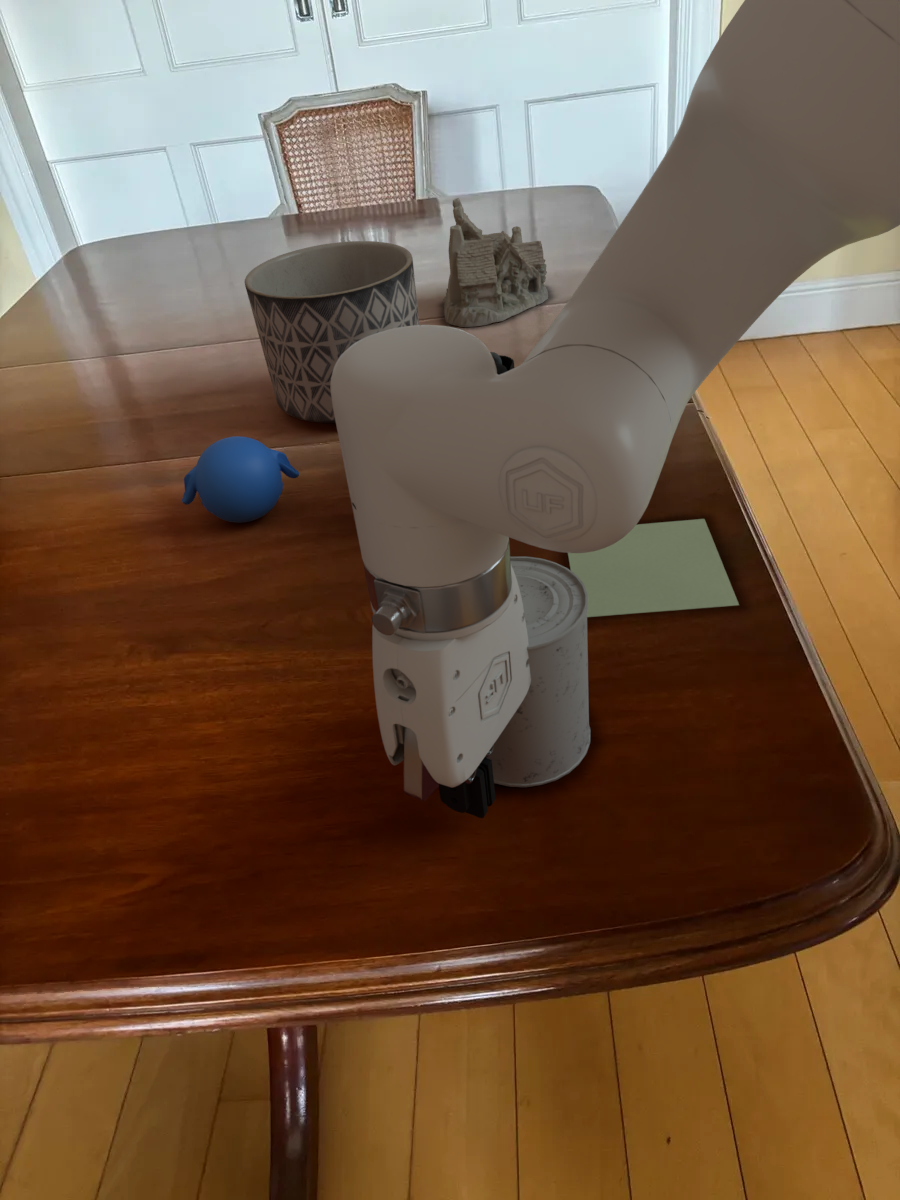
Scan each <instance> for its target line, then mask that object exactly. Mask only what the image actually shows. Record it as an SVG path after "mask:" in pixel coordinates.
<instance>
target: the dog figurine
mask: <svg viewBox="0 0 900 1200" xmlns="http://www.w3.org/2000/svg"><path fill="white" fill-rule="evenodd" d="M282 473H283V474H284V475H285V476H286V477H288V478H290V479H299V476H300V472H299V470H297V469H296V468H295V467H294V466H293V465H292V464H291V462H290V461H289V458H288V456H287V455H286V454H285V453H284V452H282V451H280V450H276V449H273V448H270V447H267V445H265V444H264V443H262V442H261V441H259V440H257V439H255V438H252V437H248V436H242V435H241V436H238V435H237V436H236V435H235V436H229V437H228V436H227V437H224V438H221V439H219V440H216V441H215V442H213V443H212V444H210V445H209V446H208V447H206V448H205V449H204V451H202V453H201V455H199V458H198V459H197V461H196V464H195V466H194V467H193V468H192V469H190V470H189V471H188V472H187V474H185V476H184V477H183V483H184V492H183V496H182V498H181V503H182V504H184V505H185V506H188V505H191V504H192V503H193V502H194V501H195V499H196V496H197V493H198V497H199V498H200V501H201V504H202V506H203V508H205V510H206V511H207V512H209V513H211V514H212V515H213V516H214V517H216V518H218V519H220V520H222V521H225V522H229V523H235V524H236V523H237V524H238V523H239V524H242V523H249V522H254V521H256V520H259V519H260V518H263V517H264V516H266V515H267V514H268V513H270V512H271V511H272V510H273V509H274V507H276V505H277V503H278V501H279V499H280V497H281V495H282V493H283V489H284V483H283V477H282Z"/></svg>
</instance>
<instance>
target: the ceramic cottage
mask: <svg viewBox="0 0 900 1200" xmlns="http://www.w3.org/2000/svg"><path fill="white" fill-rule="evenodd" d="M452 207H453V209H452V213H453V218H454V221H455V225H451V226H450V228H449V239H448V261H449V263H448V264H449V276H448V283H447V288H446V293H445V296H444V297H443V298H442V300H443V304H444V305H443V312H444V314H443V316H444V321H445V322H446V323H447V324H449V325H451V326H455V327H459V328H461V327H462V328H473V327H482V326H486V325H491V324H492V323H493V324H494V323H498V322H503V321H505V320H507V319H510V318H511V317H513V316H516V315H518V314H520V313H523V312H525V311H526V310H528V309H530V308H534V307H536V306H539V305H541V304H543V303H544V302H545V301H547V300H548V299H549V296H550V295H549V292H548V289H547V287H546V285H545V281H546V279H547V277H546V275H547V273H548V271H547V264H546V259H544V258H545V257H544V249H543V243H542V240H535V241H528V242H527V241H526V242H523V236H522V229H521V227H520V226H518V225H516V226H513V227H512V228H511V233H512V234H511V236H509V234H507V233H506V231H504V230H502V231H500V232H493V233H489V234H483V230H482V229H481V228H478V227H477V226H476V224H475V223H474V222H472V221H471V220H470V219H471V218H469V216H468V215H467V213H465V210H464V206H463V204H462V200H461V199H460V197H457V198H454V199H452Z"/></svg>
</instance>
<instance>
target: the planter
mask: <svg viewBox="0 0 900 1200" xmlns="http://www.w3.org/2000/svg"><path fill="white" fill-rule="evenodd" d="M415 279H416V278H415V270H414V260H413V254H412V253H411V251H410V250H408V249H407V248H406V247H403V246H401V245H398V244H395V243H390V242H385V241H376V240H375V241H373V240H353V241H340V242H339V241H338V242H331V243H323V244H317V245H312V246H308V247H303V248H298V249H295V250H293V251H292V250H291V251H289V252H286V253H282V254H280V255H277V256H275V257H271V258H270V259H267V260H265V261H264V262H262V263H260V264H258V265H257V266H255V267H254V268H253V269H251V270H250V271H249V272H248V273H247V274H246V276H245V278H244V286H245V287H244V288H245V291H246V293H247V298H248V301H249V305H250V308H251V312H252V316H253V320H254V324H255V326H256V331H257V334H258V338H259V342H260V345H261V349H262V353H263V356H264V360H265V363H266V367H267V371H268V375H269V378H270V382H271V387H272V389H273V393H274V397H275V399H276V403H277V405H278V406H279V408H280V409H281V411H283V412H284V413H286V414H287V415H289V416H291V417H292V418H295V419H297V420H301V421H305V422H310V423H319V424H336V421H335V416H334V411H333V405H332V397H331V389H330V386H331V377H332V372H333V369H334V366H335V364H336V362H337V360H338V359H339V357H340V356H341V355H342V354H343V353H344V352H345V351H346V350H347V349H348V348H349V347H350V346H351V345H353V344H354V343H356V342H357V341H359V340H361V339H363V338H365V337H367V336H370V335H373V334H375V333H379V332H382V331H385V330H389V329H393V328H398V327H405V326H414V325H420V318H419V308H418V299H417V287H416V280H415Z"/></svg>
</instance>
